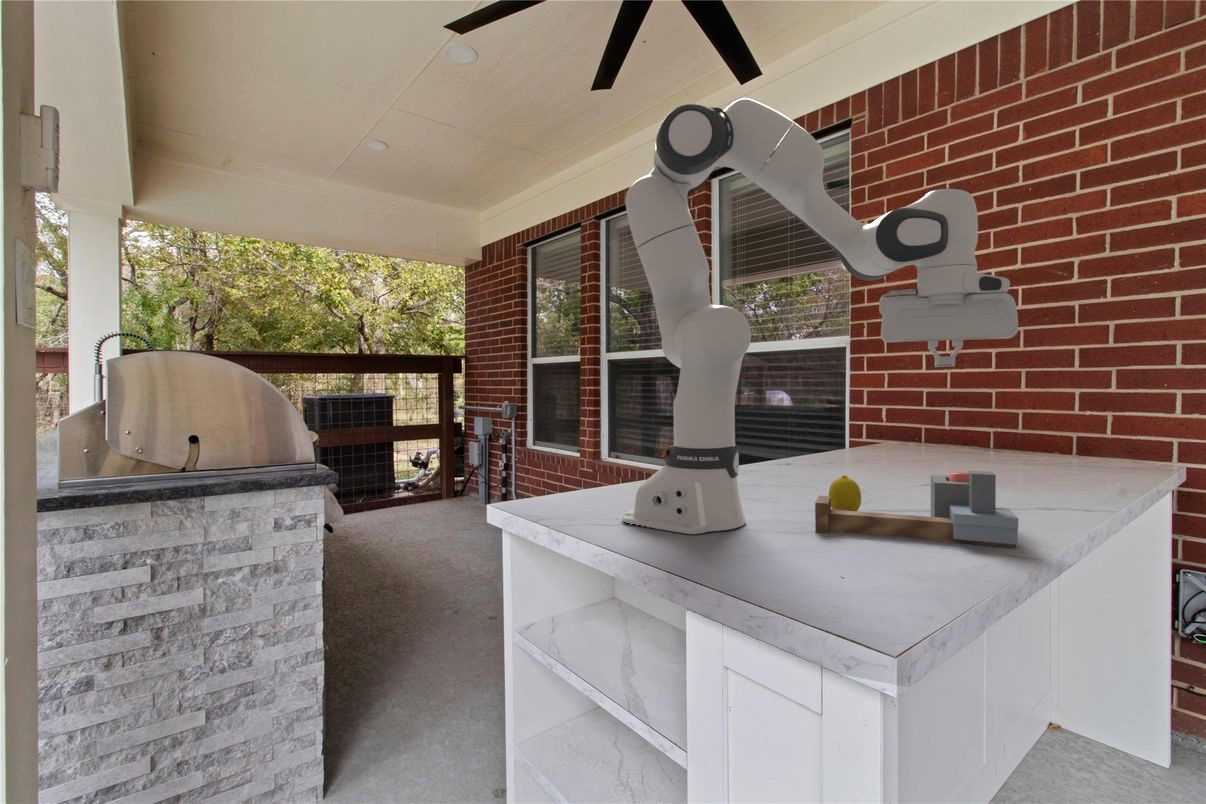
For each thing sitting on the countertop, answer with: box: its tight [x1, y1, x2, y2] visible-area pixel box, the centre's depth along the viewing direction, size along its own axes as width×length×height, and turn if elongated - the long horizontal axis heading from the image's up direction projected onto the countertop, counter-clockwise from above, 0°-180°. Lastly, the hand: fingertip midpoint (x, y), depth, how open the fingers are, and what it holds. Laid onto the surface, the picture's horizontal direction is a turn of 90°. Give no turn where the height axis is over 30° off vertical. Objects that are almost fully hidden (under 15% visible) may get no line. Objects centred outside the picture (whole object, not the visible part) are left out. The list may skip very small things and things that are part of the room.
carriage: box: [949, 470, 1019, 546], centre depth 86 cm, size 8×6×10 cm
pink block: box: [948, 471, 969, 482], centre depth 95 cm, size 3×3×6 cm
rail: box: [814, 495, 1017, 548], centre depth 90 cm, size 28×6×5 cm, turn 63°
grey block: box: [930, 474, 969, 518], centre depth 95 cm, size 8×8×8 cm
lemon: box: [828, 475, 862, 511], centre depth 102 cm, size 6×6×8 cm
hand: (944, 366), depth 97 cm, fingers closed
